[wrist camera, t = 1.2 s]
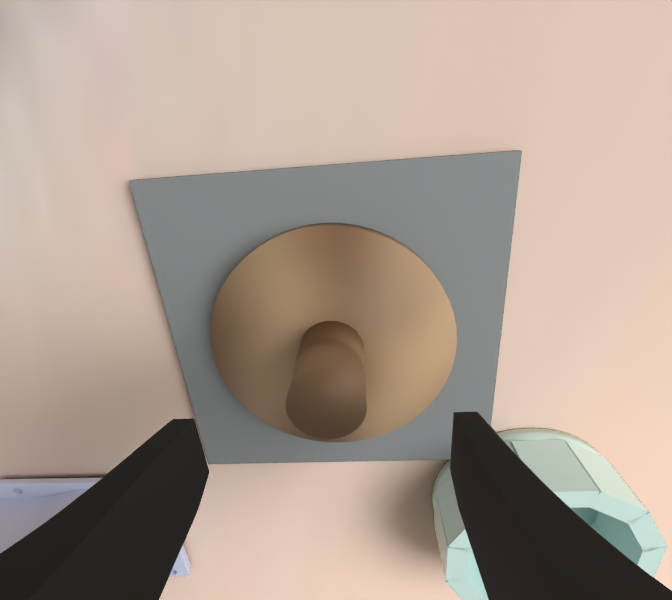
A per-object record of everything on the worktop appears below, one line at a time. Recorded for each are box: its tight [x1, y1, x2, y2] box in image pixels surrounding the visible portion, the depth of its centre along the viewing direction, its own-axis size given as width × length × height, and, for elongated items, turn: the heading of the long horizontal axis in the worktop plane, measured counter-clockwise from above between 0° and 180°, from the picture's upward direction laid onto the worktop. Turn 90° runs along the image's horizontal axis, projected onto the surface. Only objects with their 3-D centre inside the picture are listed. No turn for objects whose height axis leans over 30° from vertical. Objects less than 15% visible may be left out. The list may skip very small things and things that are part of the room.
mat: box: [129, 150, 522, 464], centre depth 16 cm, size 14×14×1 cm
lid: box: [210, 223, 457, 443], centre depth 14 cm, size 10×10×4 cm
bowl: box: [432, 428, 667, 600], centre depth 18 cm, size 9×9×4 cm
